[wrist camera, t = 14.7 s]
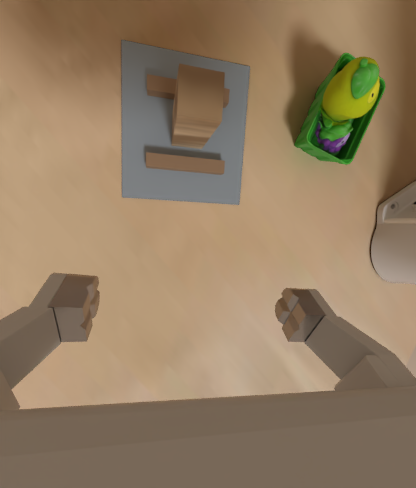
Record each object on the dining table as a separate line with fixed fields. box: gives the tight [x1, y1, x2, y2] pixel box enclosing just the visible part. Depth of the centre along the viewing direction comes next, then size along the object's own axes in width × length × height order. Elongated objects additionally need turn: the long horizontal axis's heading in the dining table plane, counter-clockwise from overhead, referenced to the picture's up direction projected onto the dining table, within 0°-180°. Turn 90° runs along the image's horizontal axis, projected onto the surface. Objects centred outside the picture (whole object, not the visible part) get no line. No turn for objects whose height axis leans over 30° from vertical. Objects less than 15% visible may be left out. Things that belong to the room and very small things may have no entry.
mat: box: [121, 40, 250, 205], centre depth 28 cm, size 18×16×2 cm
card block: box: [171, 64, 225, 149], centre depth 24 cm, size 4×4×10 cm
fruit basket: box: [295, 53, 385, 164], centre depth 27 cm, size 11×9×11 cm
